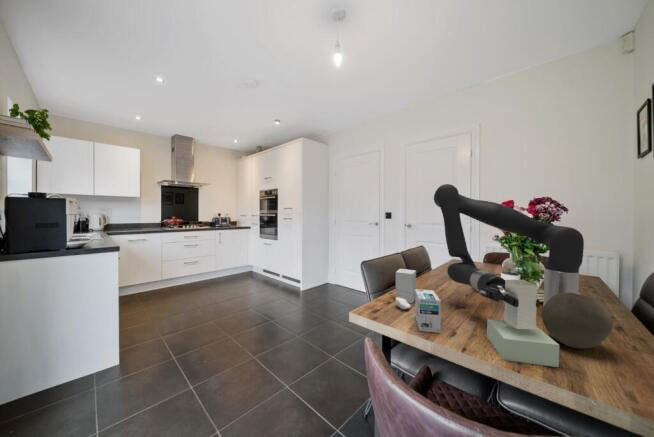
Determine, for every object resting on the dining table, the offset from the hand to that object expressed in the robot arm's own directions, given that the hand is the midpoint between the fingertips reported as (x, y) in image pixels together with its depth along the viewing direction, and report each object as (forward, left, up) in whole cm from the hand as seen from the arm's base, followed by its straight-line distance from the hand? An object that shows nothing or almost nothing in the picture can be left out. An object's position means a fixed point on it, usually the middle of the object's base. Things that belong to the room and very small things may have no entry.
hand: (527, 303), depth 66 cm
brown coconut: (-18, -6, -15) cm, 24 cm away
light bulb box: (+20, -18, -15) cm, 30 cm away
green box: (0, -3, -15) cm, 15 cm away
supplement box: (+20, -42, -15) cm, 48 cm away
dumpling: (+24, -32, -15) cm, 42 cm away
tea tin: (0, -3, -7) cm, 7 cm away
